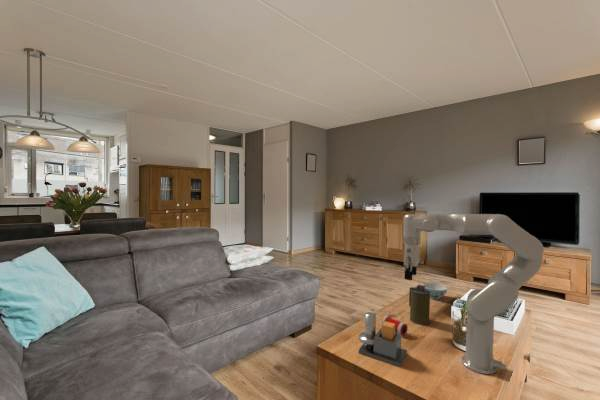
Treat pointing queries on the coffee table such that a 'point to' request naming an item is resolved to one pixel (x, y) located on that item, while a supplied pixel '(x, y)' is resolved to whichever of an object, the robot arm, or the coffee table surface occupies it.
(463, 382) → the coffee table surface
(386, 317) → the toy hammer
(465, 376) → the coffee table surface
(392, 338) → the orange rectangular block
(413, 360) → the coffee table surface
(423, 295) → the canister
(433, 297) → the chinaware
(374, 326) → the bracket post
